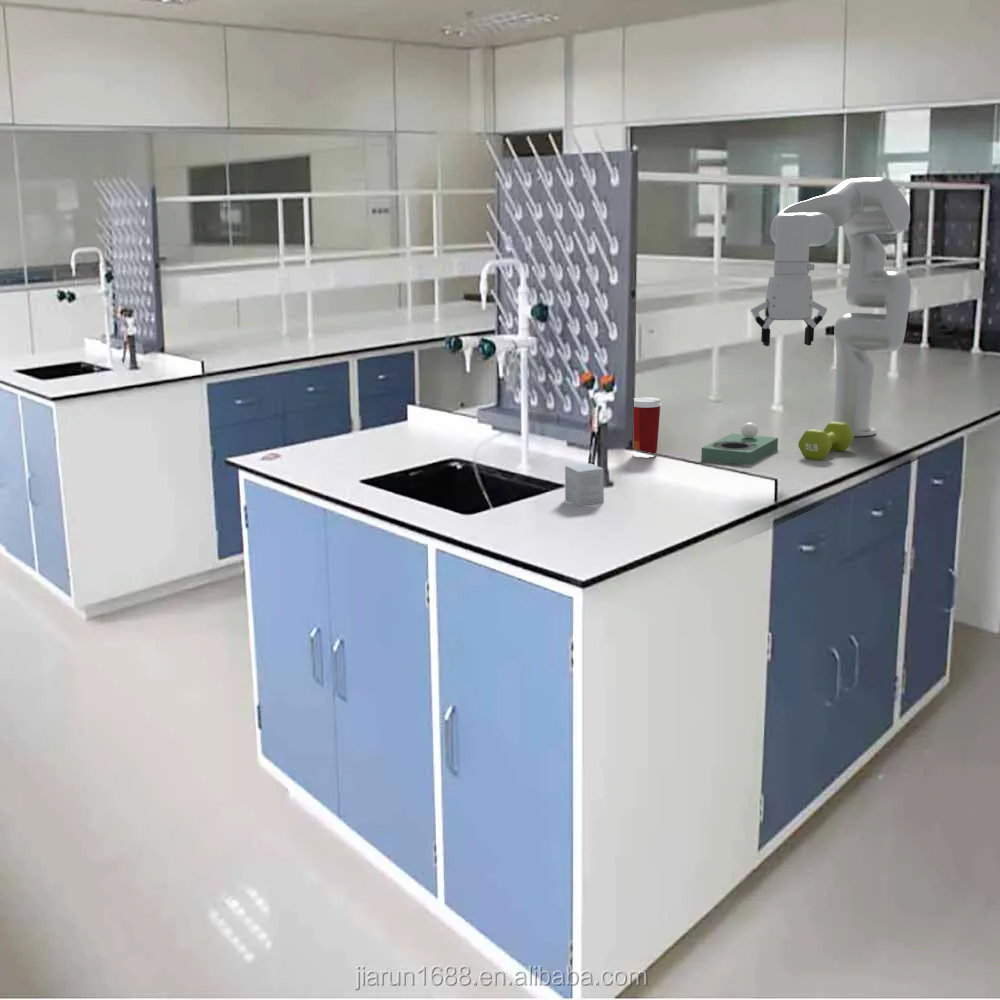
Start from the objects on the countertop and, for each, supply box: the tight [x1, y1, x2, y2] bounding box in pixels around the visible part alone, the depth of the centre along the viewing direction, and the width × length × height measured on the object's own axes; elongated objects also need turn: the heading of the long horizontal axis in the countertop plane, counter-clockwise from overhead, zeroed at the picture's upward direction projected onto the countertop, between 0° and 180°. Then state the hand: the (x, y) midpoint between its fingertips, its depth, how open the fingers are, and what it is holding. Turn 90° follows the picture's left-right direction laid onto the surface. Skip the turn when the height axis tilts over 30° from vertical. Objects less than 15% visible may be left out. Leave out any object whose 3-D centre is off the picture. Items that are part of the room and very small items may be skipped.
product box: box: [564, 462, 605, 507], centre depth 219 cm, size 6×6×7 cm
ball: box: [740, 422, 759, 439], centre depth 264 cm, size 4×4×4 cm
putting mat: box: [700, 433, 779, 466], centre depth 260 cm, size 20×12×3 cm, turn 147°
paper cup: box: [633, 396, 663, 453], centre depth 259 cm, size 8×8×14 cm
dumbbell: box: [798, 420, 855, 461], centre depth 258 cm, size 16×8×7 cm, turn 138°
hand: (787, 345), depth 246 cm, fingers open, 9 cm apart
